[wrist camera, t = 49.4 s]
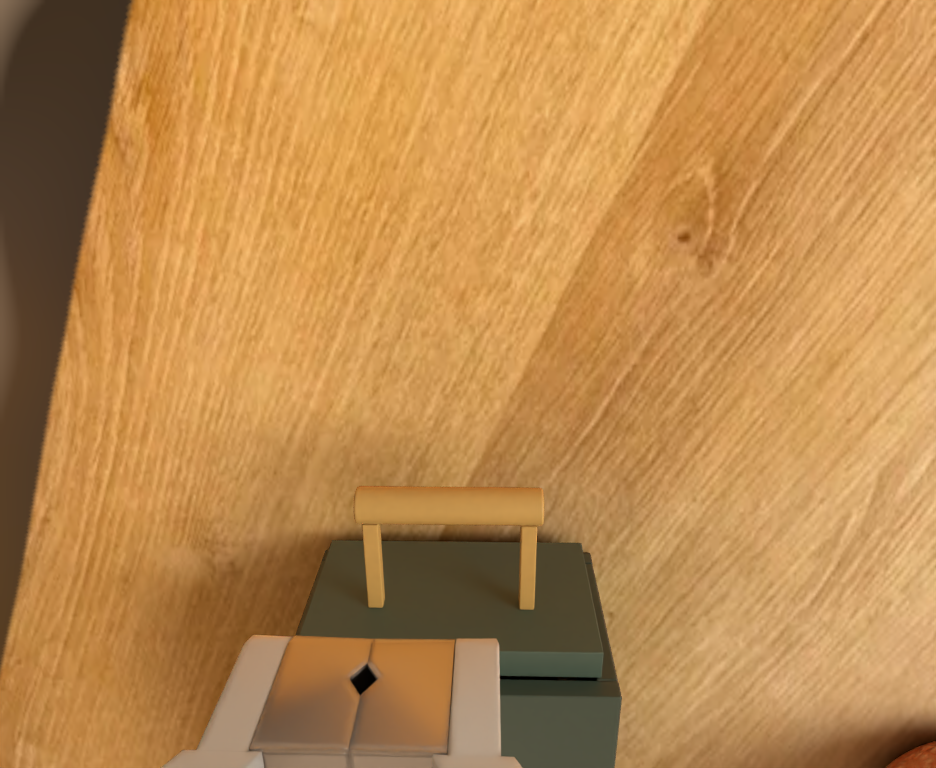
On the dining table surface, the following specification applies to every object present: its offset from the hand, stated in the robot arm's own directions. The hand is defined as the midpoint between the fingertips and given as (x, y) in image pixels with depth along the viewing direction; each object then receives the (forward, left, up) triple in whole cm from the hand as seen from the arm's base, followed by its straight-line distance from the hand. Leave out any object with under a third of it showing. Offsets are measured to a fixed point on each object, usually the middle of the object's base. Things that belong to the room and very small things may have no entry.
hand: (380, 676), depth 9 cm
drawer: (+14, -8, -20) cm, 26 cm away
